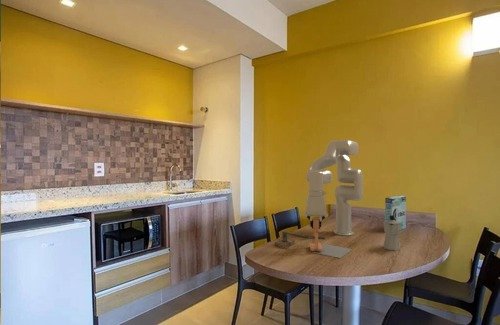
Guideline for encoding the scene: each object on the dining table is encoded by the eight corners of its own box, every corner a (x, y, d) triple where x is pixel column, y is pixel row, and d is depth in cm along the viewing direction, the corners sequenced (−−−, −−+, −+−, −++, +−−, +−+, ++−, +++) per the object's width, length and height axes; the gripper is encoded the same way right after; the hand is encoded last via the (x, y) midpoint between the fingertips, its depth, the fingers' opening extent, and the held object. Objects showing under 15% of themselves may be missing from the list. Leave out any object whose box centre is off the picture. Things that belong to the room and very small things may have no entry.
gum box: (399, 227, 206) (399, 195, 205) (406, 228, 202) (406, 196, 201) (384, 231, 194) (384, 197, 194) (391, 232, 190) (392, 198, 190)
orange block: (309, 244, 159) (309, 216, 159) (320, 244, 159) (320, 217, 158) (310, 250, 149) (310, 220, 149) (322, 251, 148) (322, 221, 148)
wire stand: (284, 241, 169) (284, 229, 169) (325, 250, 153) (325, 236, 153) (274, 245, 161) (274, 232, 161) (317, 255, 145) (317, 240, 145)
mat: (325, 244, 163) (325, 244, 163) (351, 250, 154) (351, 249, 154) (312, 252, 150) (312, 251, 150) (340, 258, 141) (340, 257, 141)
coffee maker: (400, 252, 149) (400, 218, 149) (381, 250, 154) (382, 216, 154) (401, 245, 163) (401, 213, 162) (384, 243, 167) (384, 212, 167)
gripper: (330, 193, 156) (330, 227, 156) (300, 192, 158) (300, 226, 159) (332, 195, 149) (332, 230, 149) (300, 194, 151) (300, 229, 151)
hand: (315, 227), depth 154 cm, fingers closed on orange block, 3 cm apart
